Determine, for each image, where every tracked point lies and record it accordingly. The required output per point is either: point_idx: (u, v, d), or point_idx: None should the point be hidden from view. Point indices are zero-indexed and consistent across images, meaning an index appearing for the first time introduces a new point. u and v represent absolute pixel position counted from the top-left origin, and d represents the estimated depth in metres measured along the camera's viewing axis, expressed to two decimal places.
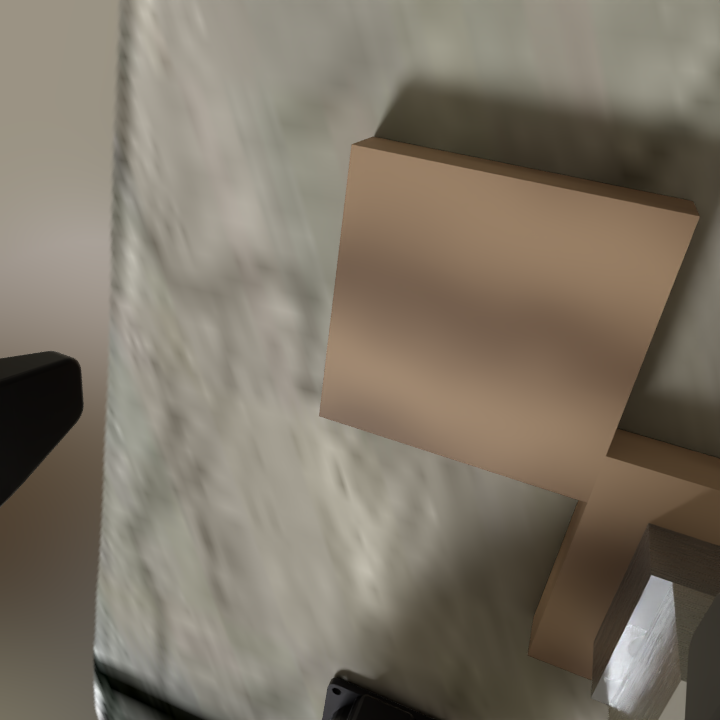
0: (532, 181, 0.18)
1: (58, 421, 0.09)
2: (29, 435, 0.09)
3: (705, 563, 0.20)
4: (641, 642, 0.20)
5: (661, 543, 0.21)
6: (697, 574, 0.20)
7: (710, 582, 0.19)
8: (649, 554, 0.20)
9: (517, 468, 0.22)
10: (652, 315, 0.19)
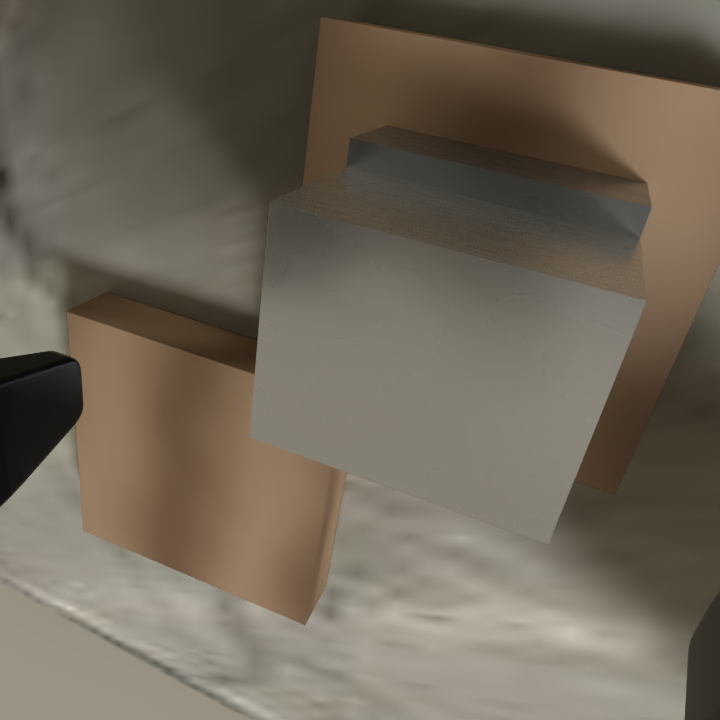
0: None
1: (58, 421, 0.09)
2: (29, 435, 0.09)
3: None
4: None
5: None
6: None
7: None
8: None
9: (316, 464, 0.20)
10: (141, 342, 0.21)
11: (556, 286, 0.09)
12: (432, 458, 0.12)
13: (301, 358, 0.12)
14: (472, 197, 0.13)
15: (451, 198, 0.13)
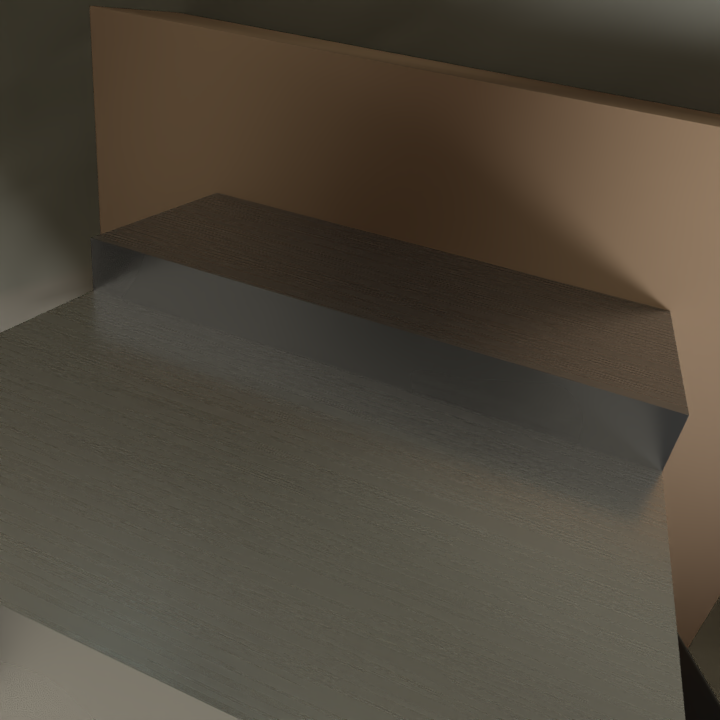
0: None
1: None
2: None
3: None
4: None
5: None
6: None
7: None
8: None
9: None
10: None
11: None
12: None
13: None
14: (320, 363, 0.06)
15: (271, 371, 0.06)
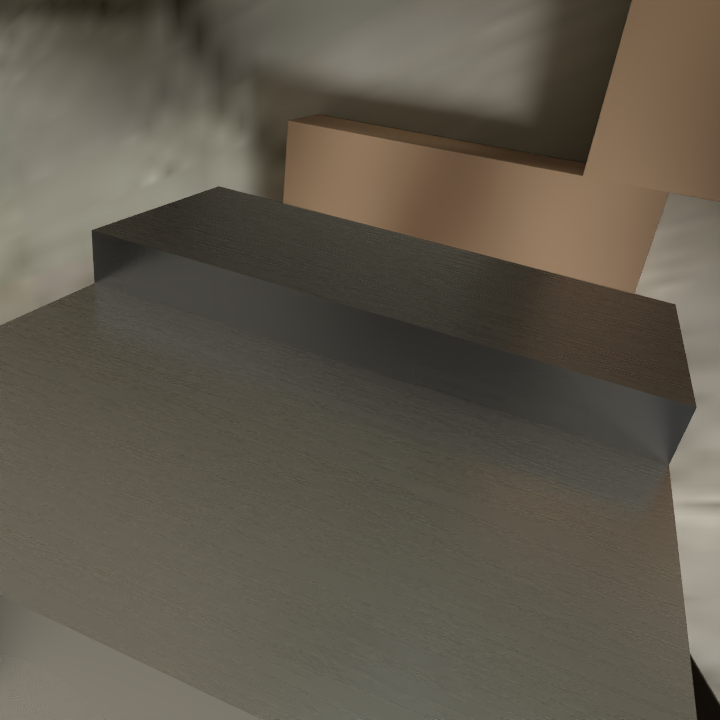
0: None
1: None
2: None
3: None
4: None
5: None
6: None
7: None
8: None
9: (615, 286, 0.16)
10: (388, 148, 0.17)
11: None
12: None
13: None
14: (323, 355, 0.06)
15: (273, 364, 0.06)
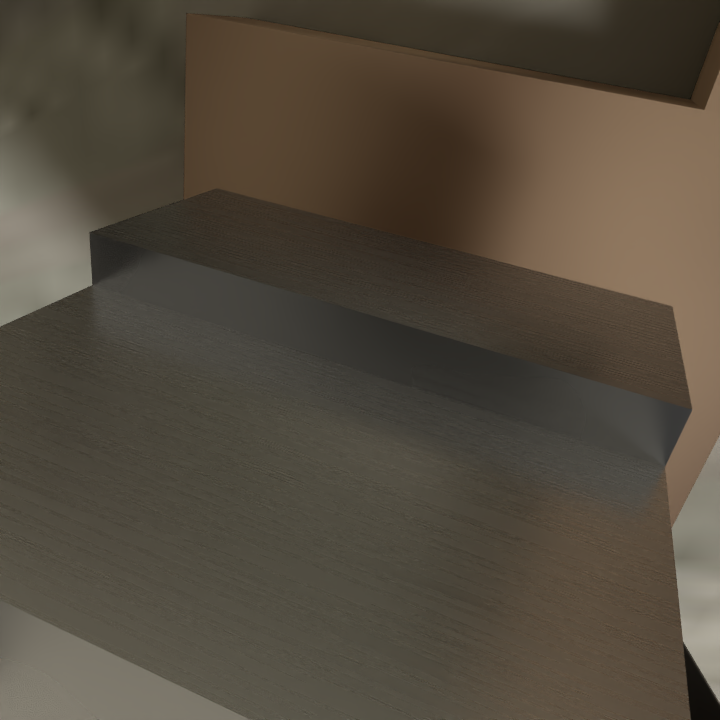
0: None
1: None
2: None
3: None
4: None
5: None
6: None
7: None
8: None
9: None
10: (354, 60, 0.10)
11: None
12: None
13: None
14: (320, 357, 0.06)
15: (270, 366, 0.06)
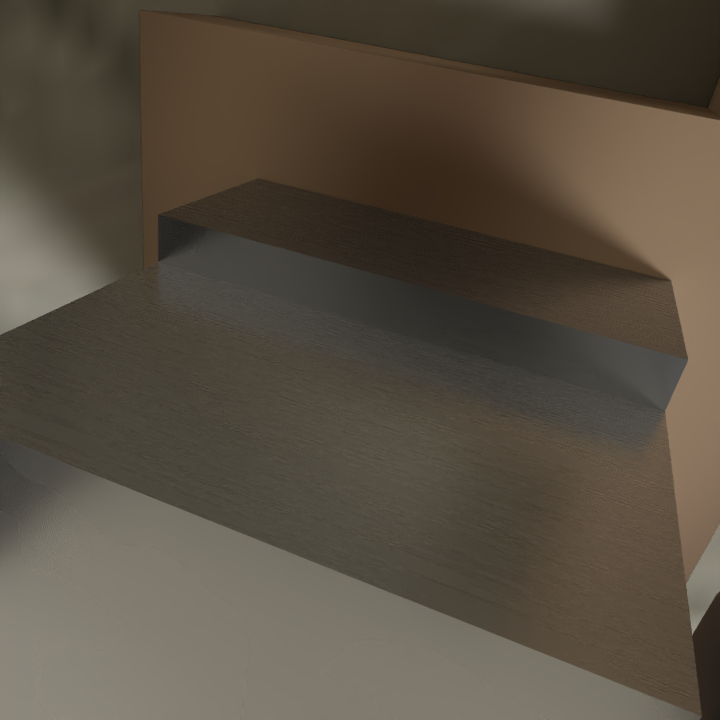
0: None
1: None
2: None
3: None
4: None
5: None
6: None
7: None
8: None
9: None
10: (325, 63, 0.09)
11: (477, 645, 0.04)
12: None
13: (15, 658, 0.06)
14: (364, 322, 0.07)
15: (323, 329, 0.07)
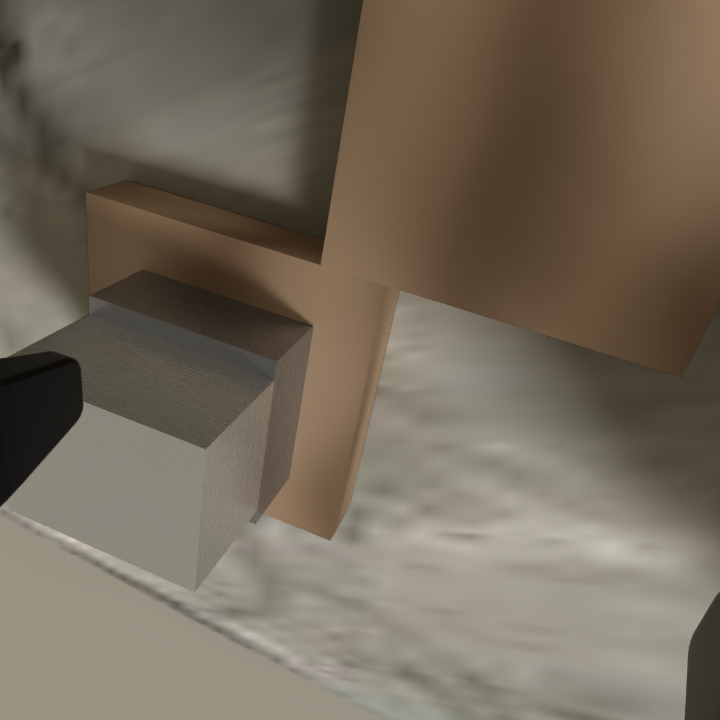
0: None
1: (58, 421, 0.09)
2: (29, 435, 0.09)
3: None
4: None
5: None
6: None
7: None
8: None
9: (354, 357, 0.19)
10: (168, 224, 0.19)
11: (158, 436, 0.15)
12: (118, 532, 0.17)
13: None
14: (170, 343, 0.18)
15: (151, 345, 0.18)
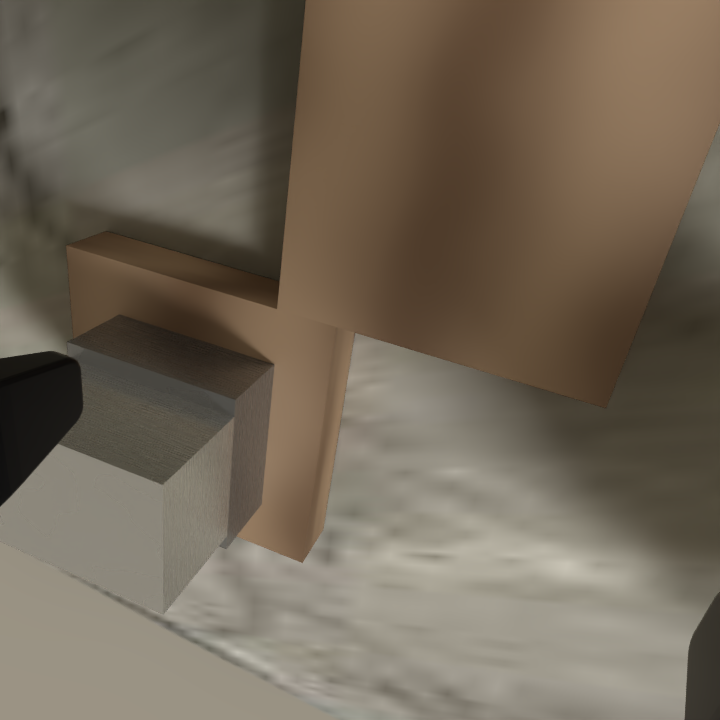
0: None
1: (58, 421, 0.09)
2: (29, 435, 0.09)
3: None
4: None
5: None
6: None
7: None
8: None
9: (312, 392, 0.21)
10: (140, 274, 0.21)
11: (121, 473, 0.16)
12: (92, 560, 0.18)
13: (12, 497, 0.19)
14: (140, 384, 0.20)
15: (122, 387, 0.19)
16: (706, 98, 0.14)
